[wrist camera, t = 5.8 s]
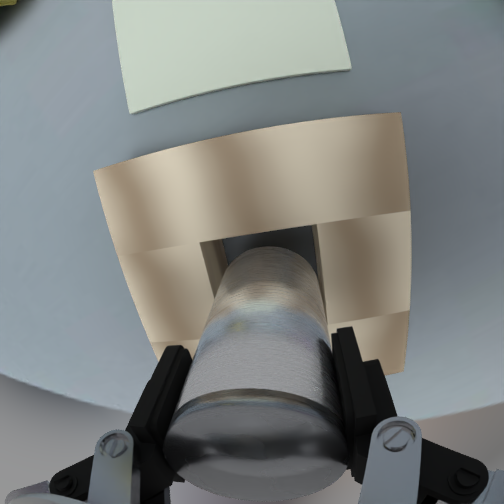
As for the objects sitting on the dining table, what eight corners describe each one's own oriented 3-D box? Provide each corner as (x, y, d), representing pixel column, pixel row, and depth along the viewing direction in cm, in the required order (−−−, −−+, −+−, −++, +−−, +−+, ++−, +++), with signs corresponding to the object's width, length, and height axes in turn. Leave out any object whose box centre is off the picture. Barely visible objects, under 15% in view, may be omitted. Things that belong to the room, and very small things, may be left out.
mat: (313, -54, 13) (314, -59, 13) (349, 70, 17) (351, 68, 16) (115, -7, 15) (110, -10, 15) (134, 113, 19) (129, 113, 18)
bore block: (372, 115, 18) (400, 112, 13) (385, 329, 23) (403, 371, 19) (130, 159, 20) (93, 171, 16) (190, 354, 26) (174, 396, 21)
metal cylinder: (313, 239, 15) (351, 402, 6) (323, 325, 17) (346, 494, 8) (211, 254, 16) (133, 411, 7) (232, 336, 18) (196, 499, 8)
